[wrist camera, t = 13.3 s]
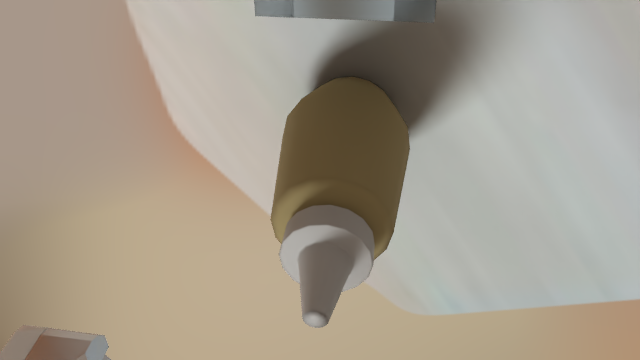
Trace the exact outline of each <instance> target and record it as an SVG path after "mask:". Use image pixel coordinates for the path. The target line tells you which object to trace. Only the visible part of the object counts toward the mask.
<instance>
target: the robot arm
mask: <svg viewBox="0 0 640 360" xmlns="http://www.w3.org/2000/svg"><path fill="white" fill-rule="evenodd" d="M108 347H109V346H108V344H107V341H106V338H105V336H104V335H98V334H90V333H82V332H75V331H66V330H59V329H52V328H45V327H37V326H28V325H23V326H21V327H20V328H19V329H17V330H16V331H15V332H14V333H13V334H12V336H11V337H10V339H9V340H8V342H7V343H6V345H5V346H4V347H3V349H2V350H1V352H0V360H111V359H110V358H108V357H107V356H106V355H105V353H106V351H107V349H108Z"/></svg>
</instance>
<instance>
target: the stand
mask: <svg viewBox="0 0 640 360" xmlns="http://www.w3.org/2000/svg"><path fill="white" fill-rule="evenodd" d="M254 4H255V16H269V17H295V18H322V19H349V20H376V21H403V22H430V23H434V19H435V9H436V0H254Z"/></svg>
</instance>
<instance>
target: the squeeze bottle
mask: <svg viewBox="0 0 640 360" xmlns="http://www.w3.org/2000/svg"><path fill="white" fill-rule="evenodd" d="M409 150H410V146H409V135H408V127H407V125H406V124H405V122H404V120H403V119H402V117H401V115H400V114H399V112H398V110H397V109H396V107H395V106H394V104H393V103H392V102H391V100H390V99H389V98H388V96H387V95H386V93H385V92H384V91H383V90H382V89H380V88H379V87H377V86H376V85H375V84H373V83H372V82H371V81H368V80H364V79H360V78H357V77H343V78H335V79H333V80H331V81H329V82H327V83H325V84H323V85H321V86H320V87H318V88H317V89H315V90H314V91H313V92H311V93H310V94H308V95H307V96H305V97H304V98H302V99H301V100H300V102H299V103H298V104H297V105H296V107H295V108H294V109H293V110H292V111H291V113H290V114H289V115H288V116H287V120H286V125H285V129H284V134H283V139H282V146H281V152H280V159H279V166H278V173H277V179H276V186H275V193H274V200H273V207H272V213H271V222H272V226H273V229H274V233H275V237H276V238H277V239H278V241H279V242H280V243H281V249H280V253H279V256H280V260H281V263H282V267H283V268H284V270H285V271H286V272H287V273H288V275H290V277H291V278H292V279H293V280H294V281H296V282H298V283H299V284H300V292H301V304H302V317H303V321H304V322H305V323H306V324H307V325H309V326H311V327H315V328H320V327H323V326H325V325H327V324H328V322H329V319H330V317H331V315H332V312H333V310H334V308H335V306H336V303H337V301H338V299H339V296H340V294H341V292H343V291H346V290H349V289H352V288H355V287H357V286H358V285H360V284H361V283H362V282H363V281H364V280H366V279H367V278H368V276H369V274H370V271H371V269H372V267H373V261H374V260H375V259H376V258H377V257H378V256H379V255H380V254H381V253H383V252H384V251H385V250H386V249H387V247H388V244H389V242H390V240H391V237H392V235H393V232H394V227H395V222H396V217H397V212H398V207H399V202H400V197H401V191H402V186H403V181H404V176H405V171H406V166H407V161H408V156H409Z"/></svg>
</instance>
